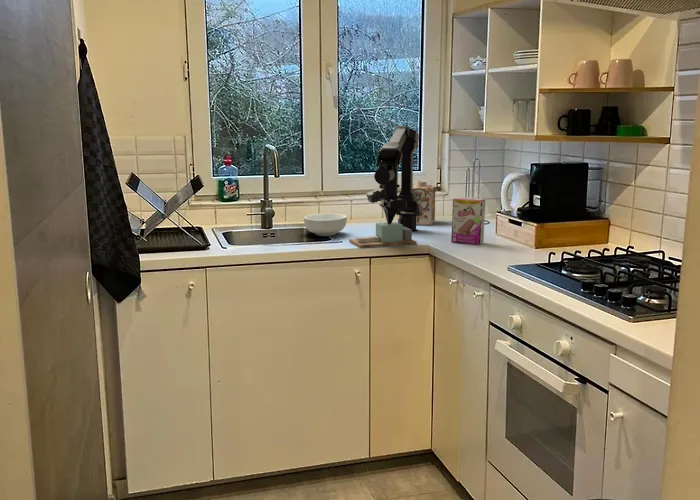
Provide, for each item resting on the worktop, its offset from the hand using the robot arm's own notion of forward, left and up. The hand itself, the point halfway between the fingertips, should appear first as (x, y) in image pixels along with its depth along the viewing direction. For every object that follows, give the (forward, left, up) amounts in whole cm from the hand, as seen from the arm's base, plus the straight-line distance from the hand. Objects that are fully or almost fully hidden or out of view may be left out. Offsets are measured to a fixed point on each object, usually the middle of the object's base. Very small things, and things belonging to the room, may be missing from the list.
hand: (389, 224), depth 263 cm
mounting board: (+2, 0, -7) cm, 7 cm away
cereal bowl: (+17, -24, -7) cm, 31 cm away
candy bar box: (-28, +9, -7) cm, 30 cm away
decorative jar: (-29, -37, -7) cm, 47 cm away
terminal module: (0, 0, -6) cm, 6 cm away
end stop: (-6, 0, -7) cm, 9 cm away
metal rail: (+2, 0, -7) cm, 7 cm away
